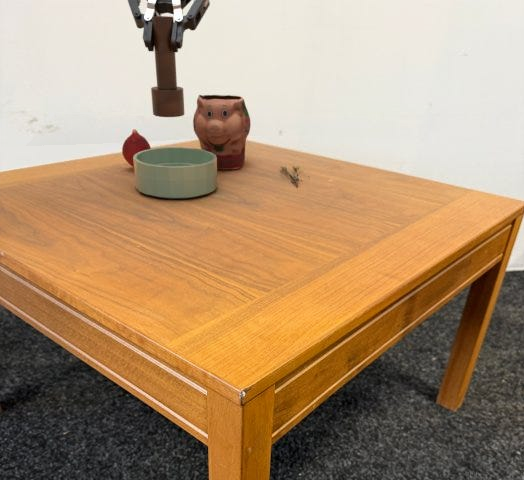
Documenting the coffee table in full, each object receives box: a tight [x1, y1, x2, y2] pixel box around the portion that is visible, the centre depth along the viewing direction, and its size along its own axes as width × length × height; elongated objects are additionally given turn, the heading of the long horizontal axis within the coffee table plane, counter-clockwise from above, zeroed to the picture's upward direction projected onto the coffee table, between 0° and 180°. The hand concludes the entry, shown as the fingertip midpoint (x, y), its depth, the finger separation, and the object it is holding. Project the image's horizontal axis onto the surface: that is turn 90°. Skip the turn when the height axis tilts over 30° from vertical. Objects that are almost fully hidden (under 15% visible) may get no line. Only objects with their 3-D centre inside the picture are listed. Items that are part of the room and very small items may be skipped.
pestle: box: [150, 15, 185, 118], centre depth 88 cm, size 5×5×14 cm
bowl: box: [133, 146, 218, 200], centre depth 103 cm, size 15×15×6 cm
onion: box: [121, 128, 152, 168], centre depth 113 cm, size 6×6×8 cm
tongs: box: [279, 165, 301, 188], centre depth 113 cm, size 4×13×2 cm, turn 9°
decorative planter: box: [192, 94, 251, 170], centre depth 118 cm, size 20×12×14 cm, turn 3°
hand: (162, 47), depth 85 cm, fingers closed on pestle, 3 cm apart
